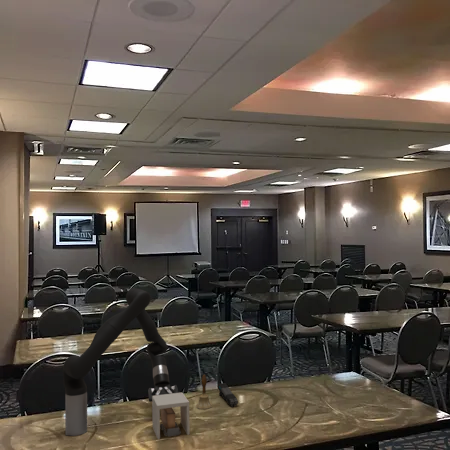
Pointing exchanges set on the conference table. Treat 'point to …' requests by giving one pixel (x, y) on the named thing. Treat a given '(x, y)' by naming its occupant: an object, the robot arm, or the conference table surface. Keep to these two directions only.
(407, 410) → the conference table surface
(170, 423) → the rounded end wooden stick
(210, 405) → the hand bell
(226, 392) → the gun
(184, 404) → the grey arch stand
